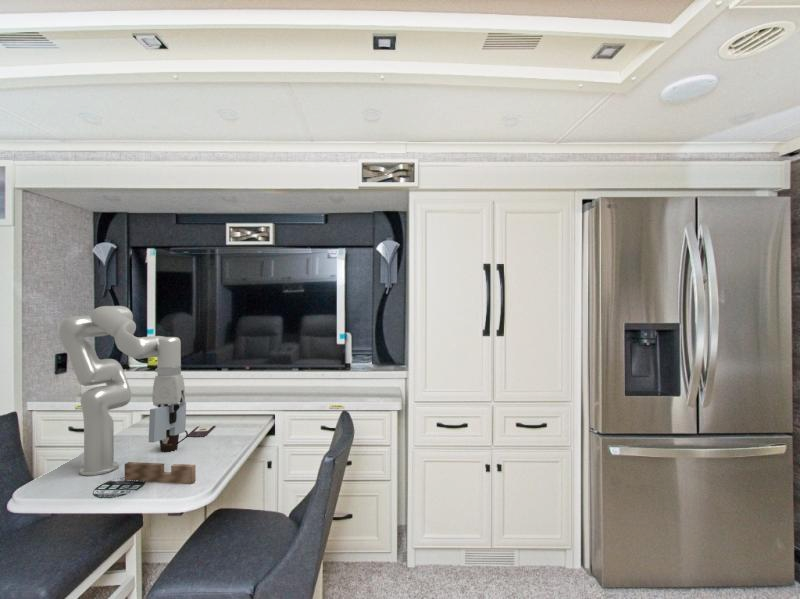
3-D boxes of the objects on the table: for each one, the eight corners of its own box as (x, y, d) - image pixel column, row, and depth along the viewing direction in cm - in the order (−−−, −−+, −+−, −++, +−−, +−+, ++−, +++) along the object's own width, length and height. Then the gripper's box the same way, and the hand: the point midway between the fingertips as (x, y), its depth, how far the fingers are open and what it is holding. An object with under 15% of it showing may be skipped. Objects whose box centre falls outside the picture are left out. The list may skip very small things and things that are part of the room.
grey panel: (153, 442, 157) (155, 409, 157) (148, 442, 157) (149, 409, 158) (185, 431, 174) (186, 402, 175) (180, 431, 175) (181, 402, 175)
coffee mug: (153, 451, 199) (153, 428, 199) (171, 445, 207) (170, 423, 207) (172, 455, 194) (172, 431, 194) (189, 449, 202) (189, 426, 202)
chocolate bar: (185, 436, 219) (197, 426, 237) (185, 438, 219) (197, 428, 237) (205, 435, 220) (215, 425, 238) (205, 437, 220) (215, 427, 238)
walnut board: (124, 480, 167) (124, 463, 167) (128, 478, 169) (128, 462, 169) (192, 483, 163) (192, 466, 163) (195, 481, 165) (195, 464, 165)
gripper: (142, 373, 164) (142, 425, 164) (183, 373, 162) (183, 426, 162) (155, 369, 171) (156, 419, 171) (195, 370, 170) (196, 420, 169)
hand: (169, 422), depth 167 cm, fingers closed on grey panel, 1 cm apart
